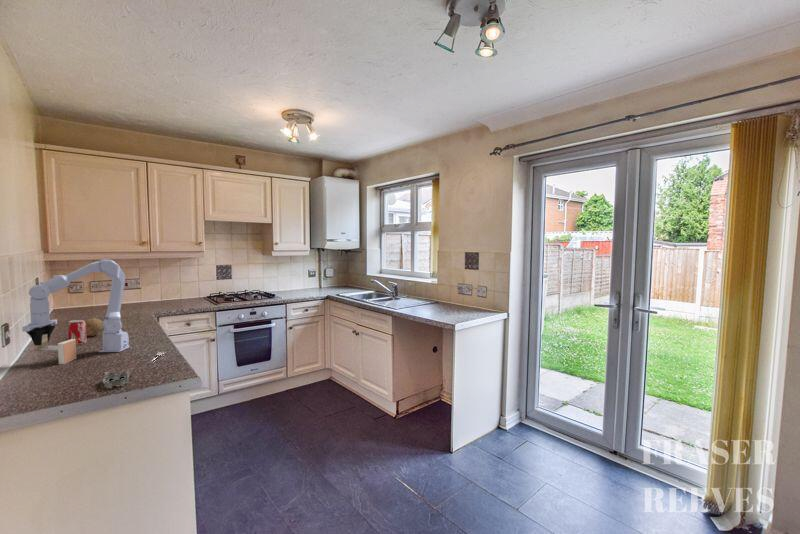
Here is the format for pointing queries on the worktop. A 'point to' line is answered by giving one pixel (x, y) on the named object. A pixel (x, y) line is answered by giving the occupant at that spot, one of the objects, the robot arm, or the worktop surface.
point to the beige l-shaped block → (45, 344)
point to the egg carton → (116, 378)
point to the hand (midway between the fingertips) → (41, 344)
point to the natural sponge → (93, 326)
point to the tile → (67, 351)
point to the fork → (157, 354)
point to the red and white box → (77, 331)
